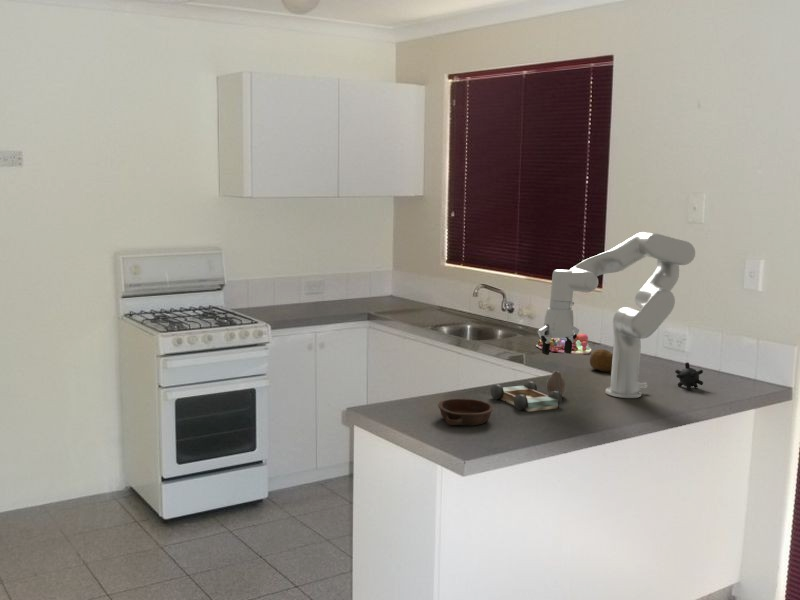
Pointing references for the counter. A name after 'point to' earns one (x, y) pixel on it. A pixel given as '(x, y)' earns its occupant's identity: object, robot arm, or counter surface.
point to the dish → (465, 411)
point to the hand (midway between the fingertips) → (556, 353)
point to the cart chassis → (527, 397)
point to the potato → (601, 360)
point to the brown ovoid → (556, 383)
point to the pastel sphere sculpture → (577, 346)
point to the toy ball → (689, 377)
